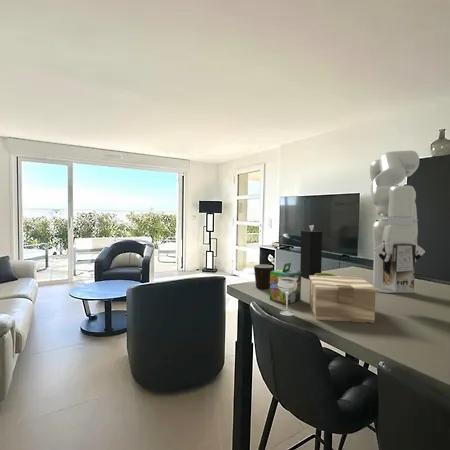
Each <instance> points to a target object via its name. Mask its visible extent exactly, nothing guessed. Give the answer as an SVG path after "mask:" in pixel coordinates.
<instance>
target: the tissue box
mask: <svg viewBox="0 0 450 450" xmlns="http://www.w3.org/2000/svg"><path fill="white" fill-rule="evenodd" d="M314 227H315V226H314V224H312V225H309V230H300V267H299V268H300V270H299V271H300V272H301V278H305V279H307V280H310V278H309V275H314V274H316V273H322V262H323V261H322V259H323V258H322V254H323V253H322V252H323V231H322V230H320V231H319V230H314Z"/></svg>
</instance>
